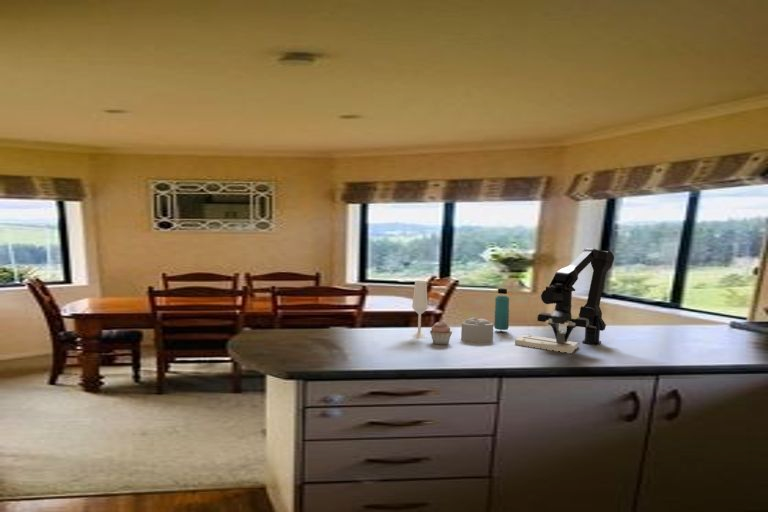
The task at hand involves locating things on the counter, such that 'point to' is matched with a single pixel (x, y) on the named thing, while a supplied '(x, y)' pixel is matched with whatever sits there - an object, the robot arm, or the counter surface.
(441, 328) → the cupcake
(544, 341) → the panel
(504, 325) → the beverage bottle
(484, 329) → the lumpy-topped squat cylinder
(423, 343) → the counter surface
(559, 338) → the block
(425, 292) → the champagne flute
